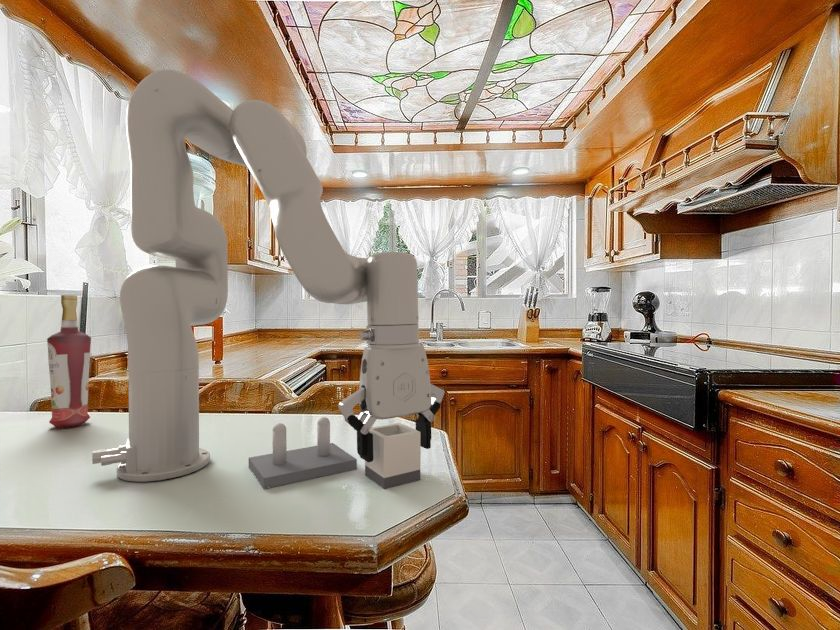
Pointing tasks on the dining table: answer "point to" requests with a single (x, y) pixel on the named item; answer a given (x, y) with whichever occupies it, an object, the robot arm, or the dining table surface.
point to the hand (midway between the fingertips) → (395, 452)
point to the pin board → (300, 459)
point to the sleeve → (394, 455)
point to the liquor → (69, 369)
